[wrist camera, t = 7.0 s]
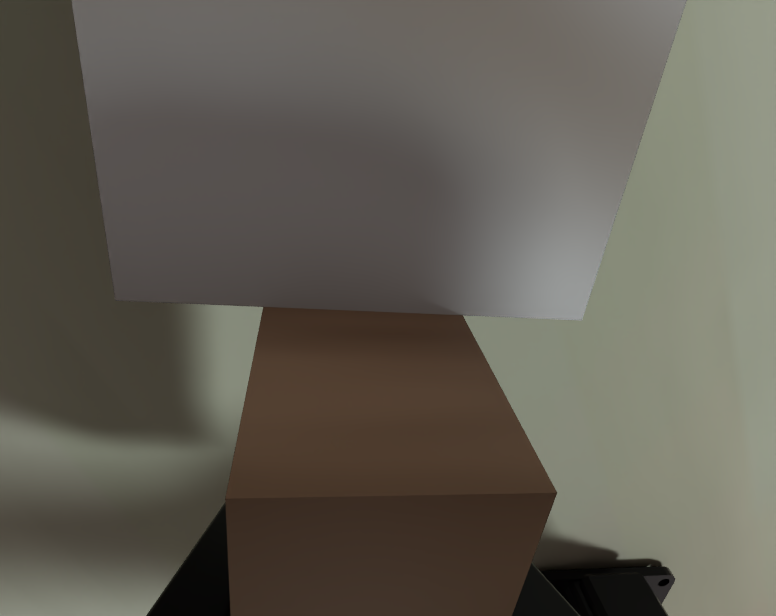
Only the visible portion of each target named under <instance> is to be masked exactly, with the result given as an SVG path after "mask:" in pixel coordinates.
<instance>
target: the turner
mask: <svg viewBox="0 0 776 616" xmlns="http://www.w3.org/2000/svg"><path fill="white" fill-rule="evenodd" d="M686 1H687V0H72V7H73V14H74V21H75V28H76V35H77V41H78V48H79V55H80V62H81V69H82V76H83V83H84V89H85V96H86V103H87V110H88V117H89V124H90V130H91V137H92V144H93V151H94V158H95V165H96V172H97V178H98V185H99V192H100V199H101V206H102V213H103V219H104V226H105V233H106V240H107V247H108V254H109V261H110V267H111V274H112V281H113V288H114V295H115V300H116V301H139V302H163V303H186V304H210V305H233V306H257V307H263V312H262V317H261V322H260V327H259V332H258V337H257V342H256V347H255V352H254V357H253V362H252V367H251V372H250V377H249V382H248V387H247V392H246V397H245V402H244V407H243V412H242V417H241V422H240V427H239V432H238V437H237V442H236V447H235V453H234V458H233V463H232V468H231V473H230V478H229V483H228V488H227V493H226V498H225V502H226V525H227V547H228V569H229V592H230V614H231V616H512V614H513V611H514V609H515V606H516V603H517V600H518V598H519V595H520V592H521V590H522V587H523V584H524V581H525V579H526V576H527V573H528V571H529V568H530V565H531V562H532V560H533V557H534V554H535V551H536V549H537V546H538V543H539V541H540V538H541V535H542V532H543V530H544V527H545V524H546V522H547V519H548V516H549V513H550V511H551V508H552V505H553V503H554V500H555V497H556V494H557V492H556V490H555V488H554V486H553V484H552V482H551V481H550V479H549V477H548V475H547V473H546V471H545V469H544V467H543V465H542V464H541V462H540V460H539V458H538V456H537V454H536V452H535V450H534V449H533V447H532V445H531V443H530V441H529V439H528V437H527V435H526V434H525V432H524V430H523V428H522V426H521V424H520V422H519V420H518V419H517V417H516V415H515V413H514V411H513V409H512V407H511V405H510V404H509V402H508V400H507V398H506V396H505V394H504V392H503V390H502V389H501V387H500V385H499V383H498V381H497V379H496V377H495V375H494V374H493V372H492V370H491V368H490V366H489V364H488V362H487V360H486V359H485V357H484V355H483V353H482V351H481V349H480V347H479V345H478V344H477V342H476V340H475V338H474V336H473V334H472V332H471V330H470V329H469V327H468V325H467V323H466V321H465V319H464V317H463V315H468V316H491V317H515V318H538V319H562V320H582V318H583V315H584V312H585V309H586V306H587V303H588V300H589V297H590V294H591V291H592V288H593V285H594V282H595V279H596V276H597V273H598V270H599V267H600V263H601V260H602V257H603V254H604V251H605V248H606V245H607V242H608V239H609V236H610V233H611V230H612V227H613V224H614V221H615V218H616V215H617V212H618V209H619V206H620V203H621V200H622V196H623V193H624V190H625V187H626V184H627V181H628V178H629V175H630V172H631V169H632V166H633V163H634V160H635V157H636V154H637V151H638V148H639V145H640V142H641V139H642V136H643V132H644V129H645V126H646V123H647V120H648V117H649V114H650V111H651V108H652V105H653V102H654V99H655V96H656V93H657V90H658V87H659V84H660V81H661V78H662V75H663V72H664V68H665V65H666V62H667V59H668V56H669V53H670V50H671V47H672V44H673V41H674V38H675V35H676V32H677V29H678V26H679V23H680V20H681V17H682V14H683V11H684V8H685V4H686Z"/></svg>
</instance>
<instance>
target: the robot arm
mask: <svg viewBox="0 0 776 616" xmlns="http://www.w3.org/2000/svg"><path fill="white" fill-rule="evenodd" d="M674 581H675V578H674V576H673V574H672V573H671V571H670V570H669V569H668V568H667V567H636V568H610V569H583V570H557V571H539V570H538V569H537V568H536V566H535V565H534V564H533V563H532V562H531V565H530V568H529V571H528V573H527V576H526V579H525V581H524V584H523V587H522V590H521V592H520V595H519V598H518V600H517V603H516V606H515V609H514V611H513V614H512V616H668V614H667V613H666V611H665V609H664V608H663V606H662V605H661V604H662V602H663V601H664V599H665V597H666V596H667V594H668V592H669V590H670V589H671V587H672V585H673V583H674ZM146 616H231V614H230V592H229V569H228V547H227V525H226V502H225V504H224V505H223V506H222V508H221V509H220V511H219V512H218V514H217V515H216V517H215V518H214V519H213V521H212V522H211V524H210V525H209V527H208V528H207V529H206V531H205V532H204V534H203V535H202V537H201V538H200V539H199V541H198V542H197V544H196V545H195V547H194V548H193V549H192V551H191V552H190V554H189V555H188V557H187V558H186V559H185V561H184V562H183V564H182V565H181V567H180V568H179V569H178V571H177V572H176V574H175V575H174V577H173V578H172V579H171V581H170V582H169V584H168V585H167V587H166V588H165V590H164V591H163V592H162V594H161V595H160V597H159V598H158V600H157V601H156V602H155V604H154V605H153V607H152V608H151V610H150V611H149V612H148V614H147V615H146Z"/></svg>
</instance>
